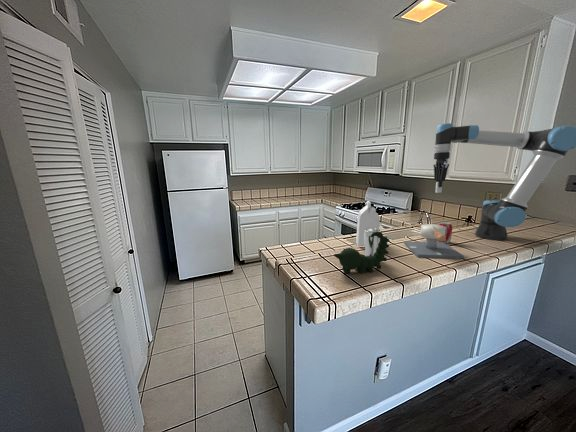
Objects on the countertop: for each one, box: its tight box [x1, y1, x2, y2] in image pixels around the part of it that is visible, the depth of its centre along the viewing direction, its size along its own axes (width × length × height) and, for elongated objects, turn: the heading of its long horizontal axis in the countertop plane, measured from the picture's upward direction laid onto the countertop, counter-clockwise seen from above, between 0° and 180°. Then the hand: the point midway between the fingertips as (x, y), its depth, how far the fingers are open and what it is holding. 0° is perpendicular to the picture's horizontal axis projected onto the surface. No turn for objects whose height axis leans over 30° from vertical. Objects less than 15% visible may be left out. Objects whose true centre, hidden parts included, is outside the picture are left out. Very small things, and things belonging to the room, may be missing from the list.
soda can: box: [437, 221, 453, 245], centre depth 134 cm, size 7×7×12 cm
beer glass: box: [364, 228, 380, 256], centre depth 113 cm, size 7×7×15 cm
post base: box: [403, 237, 465, 260], centre depth 122 cm, size 21×21×8 cm
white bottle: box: [419, 223, 446, 242], centre depth 116 cm, size 22×11×5 cm, turn 162°
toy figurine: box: [333, 231, 391, 274], centre depth 100 cm, size 9×19×25 cm
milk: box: [355, 200, 380, 247], centre depth 133 cm, size 12×12×26 cm
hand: (438, 192), depth 136 cm, fingers closed
